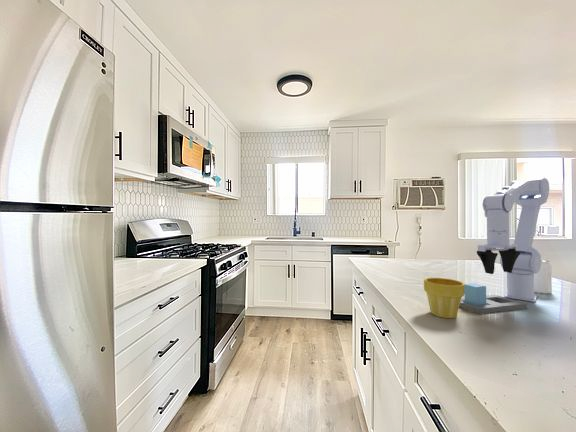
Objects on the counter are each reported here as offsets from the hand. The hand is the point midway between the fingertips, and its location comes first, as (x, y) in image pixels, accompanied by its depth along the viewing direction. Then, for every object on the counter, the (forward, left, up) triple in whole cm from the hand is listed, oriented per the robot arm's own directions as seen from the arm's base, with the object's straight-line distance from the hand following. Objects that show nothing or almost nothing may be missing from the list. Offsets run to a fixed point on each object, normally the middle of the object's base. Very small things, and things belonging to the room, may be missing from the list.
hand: (498, 272), depth 85 cm
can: (-30, +8, -11) cm, 33 cm away
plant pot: (+22, -10, -11) cm, 26 cm away
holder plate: (+4, -2, -10) cm, 11 cm away
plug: (+8, -5, -10) cm, 14 cm away
